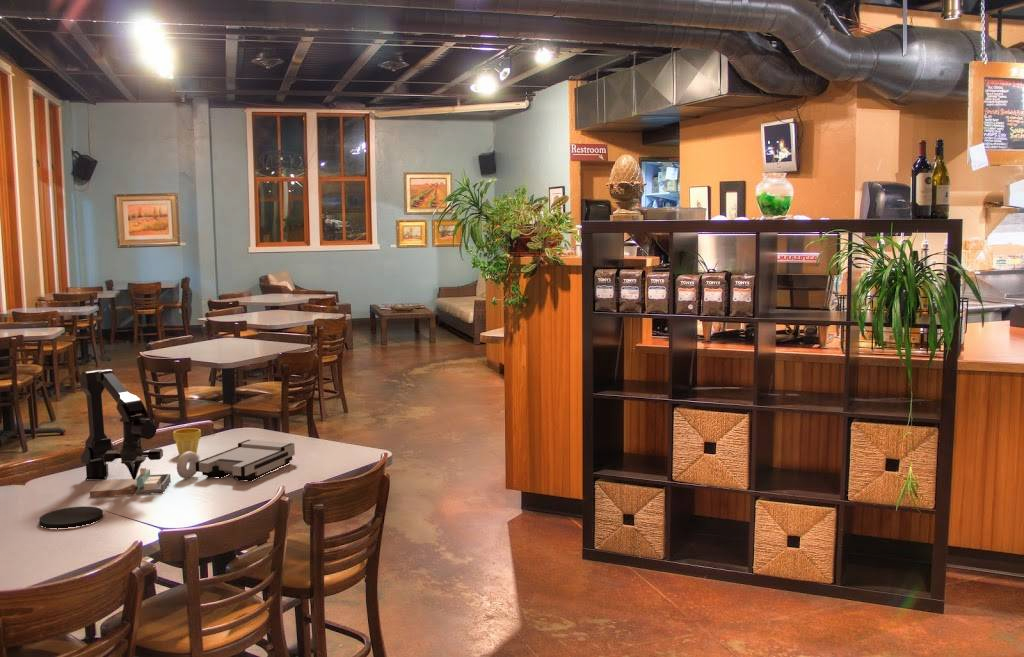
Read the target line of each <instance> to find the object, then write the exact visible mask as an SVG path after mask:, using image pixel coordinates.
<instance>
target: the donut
mask: <svg viewBox="0 0 1024 657" xmlns="http://www.w3.org/2000/svg"><path fill="white" fill-rule="evenodd" d="M198 461H200V459H199V456H198V455H197V454H195V453H194V452H192V451H187V452H185V453H183V454H182V455H181V456H180V455H179V458H178V459H177V463H176V471H177V474H178V476H179V477H180V478H182V479H184V480H187V478H188V479H191V478H193V477H194V476H195V475H196V474H197V471H196V462H198ZM188 462H189V465H188ZM187 465H188V467H187Z"/></svg>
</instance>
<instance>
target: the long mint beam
mask: <svg viewBox="0 0 1024 657" xmlns="http://www.w3.org/2000/svg"><path fill="white" fill-rule="evenodd" d="M139 471H140V474H138V475H137V477H136V478H137V487H143V486H144V483H145V482H146V481H147V479H148V478H149V477H150V475H151V469H150V468H149V469H147V467H140V468H139Z"/></svg>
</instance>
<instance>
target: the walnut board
mask: <svg viewBox="0 0 1024 657" xmlns="http://www.w3.org/2000/svg"><path fill="white" fill-rule="evenodd" d="M137 478H138V477H136V479H135V480H133V478H121V479H119V478H118V479H102V480H99V481H98V482H97V483H96V484H95V485H94V486H93V488H91V490H89V498H94V497H93V496H103V497H117V496H118V495H121V496H134V495H135V492H136V490H137V489H138V488H139V487H137ZM115 495H117V496H115Z"/></svg>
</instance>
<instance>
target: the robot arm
mask: <svg viewBox="0 0 1024 657" xmlns="http://www.w3.org/2000/svg"><path fill="white" fill-rule="evenodd" d="M78 380H79V381H78V382H79V384H80V389H81V391H82V392H83V393H84V394H85V396H86V404H87V405H86V406H87V416H88V417H87V419H88V428H89V429H88V431H89V435H88V437H87V439H86V441H85V446H84V447H85V448H84V450H83V452H82V454H81V455H80V462H81V463H82V464H85V471H86V472H85V473H86V478H85V479H86V480H85V481H88V480H87V479H102V480H106V478H107V477H108V476H109V464H108V463H112V462H114V460H116V459H121V460H120V464H122V465H123V464H124V465H125V467H126V468H127V469H128V471H129V474H130V475H131V479H133V480H135V479H136V478H138V472H139V471H140V468H141V465H142V464H143V463H144V462H145V461H146V460H147V459H148V460H150V461H156V460H157V461H159V460H161V459H162V458H163V457H164V450H163V449H162V448H150V449H149V450H148V451H144V448H143V444H142V443H143V442H142V439H143V440H151V439H152V438H154V437H155V436H156V434H157V427H156V425H155V424H154V423H153V422H151V419H150V416H149V412H148V410H147V409H146V407H145V405H144V403H143V400H141V398H139V397H138V396H137V395H135V394H132V393H130V392H128V390H127V389H126V388H125V386H124V385H123V384H122V383H121V382H120V380H119V378H118V377H117V376H116V375H115V373H114V370H113V369H109V368H108V369H107V368H106V369H94V370H85V371H82V372H81V374H80V375H79V376H78ZM105 389H106V390H107V392H108V394H109V395H110V396H111V397H112V398H113V399H114V400H115V402H116V407H115V408H116V410H117V412H118V414H119V415H120V416H121V418H120V419H119V422H121V423H122V432H123V441H122V447H121V450H120V452H119V450H118V449H117V450H112V449H113V448H112V439H111V437H108V436H107V435H106V433H105V422H104V413H103V412H104V410H103V400H102V399H103V398H102V394H103V393H104V390H105Z"/></svg>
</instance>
